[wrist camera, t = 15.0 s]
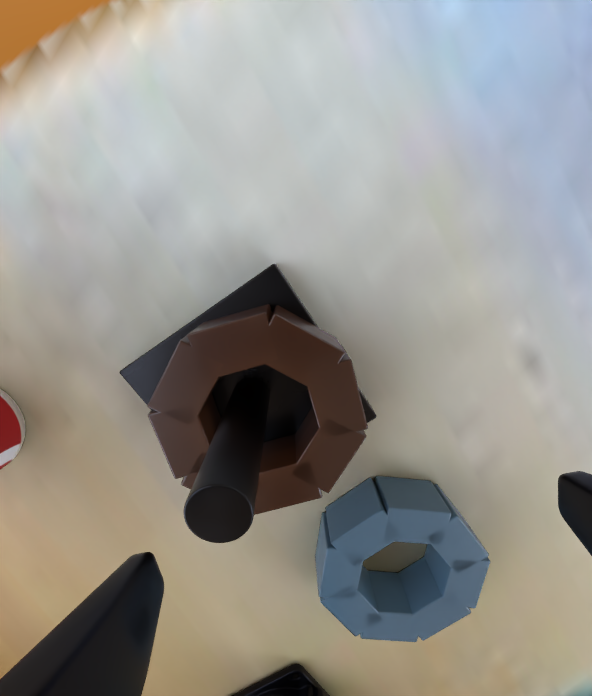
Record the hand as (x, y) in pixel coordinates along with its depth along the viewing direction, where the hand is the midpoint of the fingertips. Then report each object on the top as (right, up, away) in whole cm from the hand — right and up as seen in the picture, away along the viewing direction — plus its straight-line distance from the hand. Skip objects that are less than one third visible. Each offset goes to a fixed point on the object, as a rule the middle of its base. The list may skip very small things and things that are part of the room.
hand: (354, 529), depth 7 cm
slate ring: (+4, -8, +13) cm, 16 cm away
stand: (-3, +2, +10) cm, 11 cm away
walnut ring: (-3, +2, +9) cm, 10 cm away
